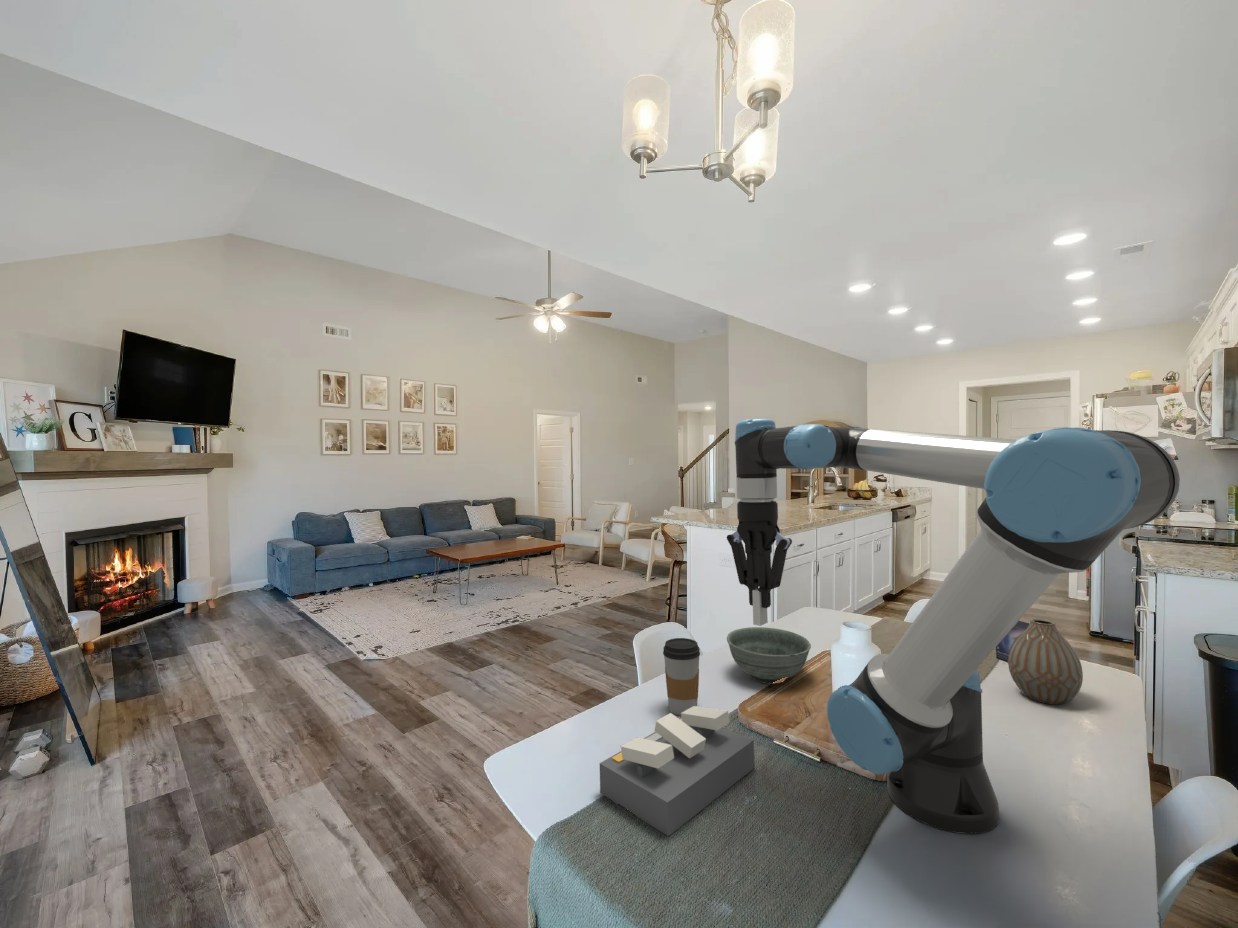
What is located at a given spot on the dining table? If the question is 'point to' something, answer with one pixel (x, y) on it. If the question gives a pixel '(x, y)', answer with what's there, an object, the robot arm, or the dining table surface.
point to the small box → (1009, 640)
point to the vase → (1045, 664)
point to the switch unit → (678, 779)
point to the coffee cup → (681, 673)
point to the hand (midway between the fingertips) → (760, 623)
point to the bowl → (768, 652)
